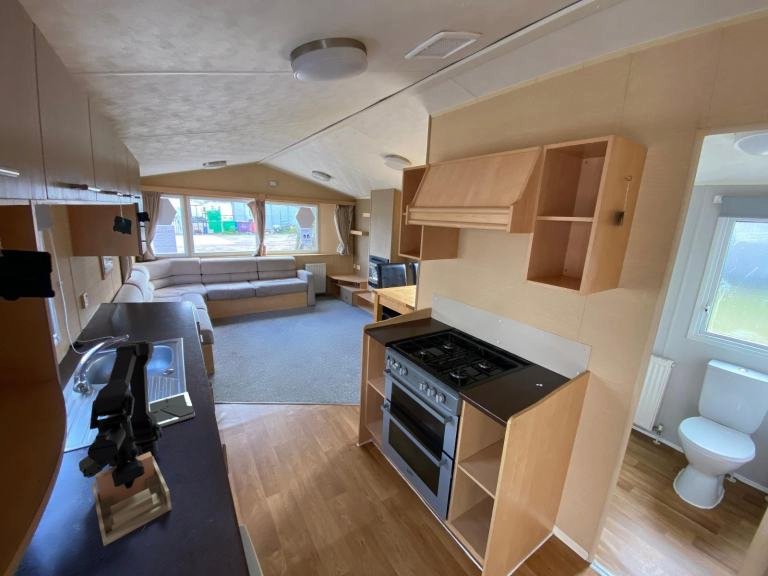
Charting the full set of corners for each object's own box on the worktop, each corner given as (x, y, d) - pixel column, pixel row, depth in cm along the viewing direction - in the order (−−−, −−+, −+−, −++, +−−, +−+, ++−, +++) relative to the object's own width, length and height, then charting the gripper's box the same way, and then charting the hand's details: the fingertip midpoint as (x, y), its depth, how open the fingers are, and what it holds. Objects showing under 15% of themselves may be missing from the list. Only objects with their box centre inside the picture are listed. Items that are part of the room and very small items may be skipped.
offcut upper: (111, 514, 81) (110, 506, 81) (149, 495, 87) (148, 488, 86) (114, 525, 79) (112, 516, 78) (153, 504, 84) (151, 496, 84)
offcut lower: (111, 524, 81) (109, 516, 81) (157, 500, 88) (156, 492, 88) (113, 534, 79) (111, 526, 78) (161, 509, 86) (159, 501, 85)
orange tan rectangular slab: (101, 506, 86) (95, 474, 84) (154, 480, 95) (149, 451, 93) (102, 511, 84) (96, 479, 82) (156, 485, 93) (151, 455, 91)
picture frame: (195, 417, 128) (188, 395, 144) (194, 411, 128) (187, 390, 144) (147, 433, 119) (145, 407, 135) (146, 426, 118) (144, 401, 134)
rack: (96, 504, 88) (91, 482, 87) (156, 475, 98) (153, 456, 97) (104, 549, 76) (99, 525, 75) (172, 511, 86) (168, 490, 85)
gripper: (75, 433, 86) (86, 482, 89) (81, 470, 74) (93, 525, 77) (127, 416, 94) (135, 461, 97) (140, 446, 82) (149, 497, 85)
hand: (128, 484), depth 89 cm, fingers closed on orange tan rectangular slab, 2 cm apart
